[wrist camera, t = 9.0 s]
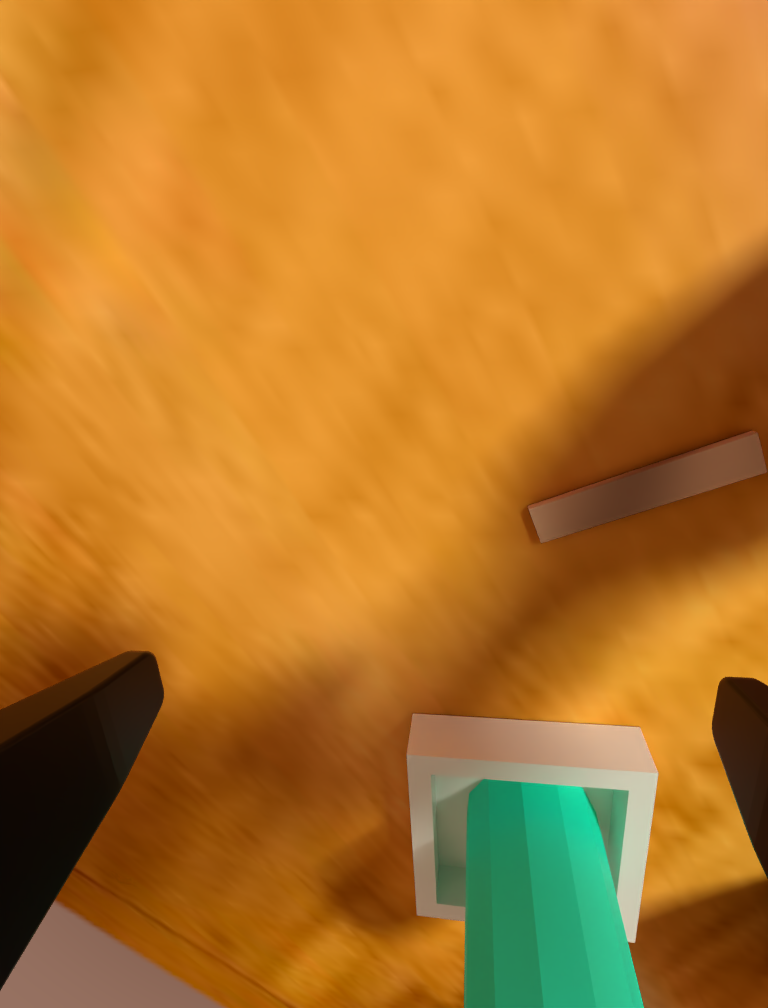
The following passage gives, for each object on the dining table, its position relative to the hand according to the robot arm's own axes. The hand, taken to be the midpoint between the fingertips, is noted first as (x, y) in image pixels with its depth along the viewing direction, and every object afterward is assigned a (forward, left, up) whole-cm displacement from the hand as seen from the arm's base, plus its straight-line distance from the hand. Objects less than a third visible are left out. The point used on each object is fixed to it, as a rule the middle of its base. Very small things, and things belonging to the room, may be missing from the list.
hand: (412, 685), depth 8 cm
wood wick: (-7, +1, -13) cm, 15 cm away
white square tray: (-3, +17, -13) cm, 22 cm away
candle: (-3, +17, -13) cm, 21 cm away
